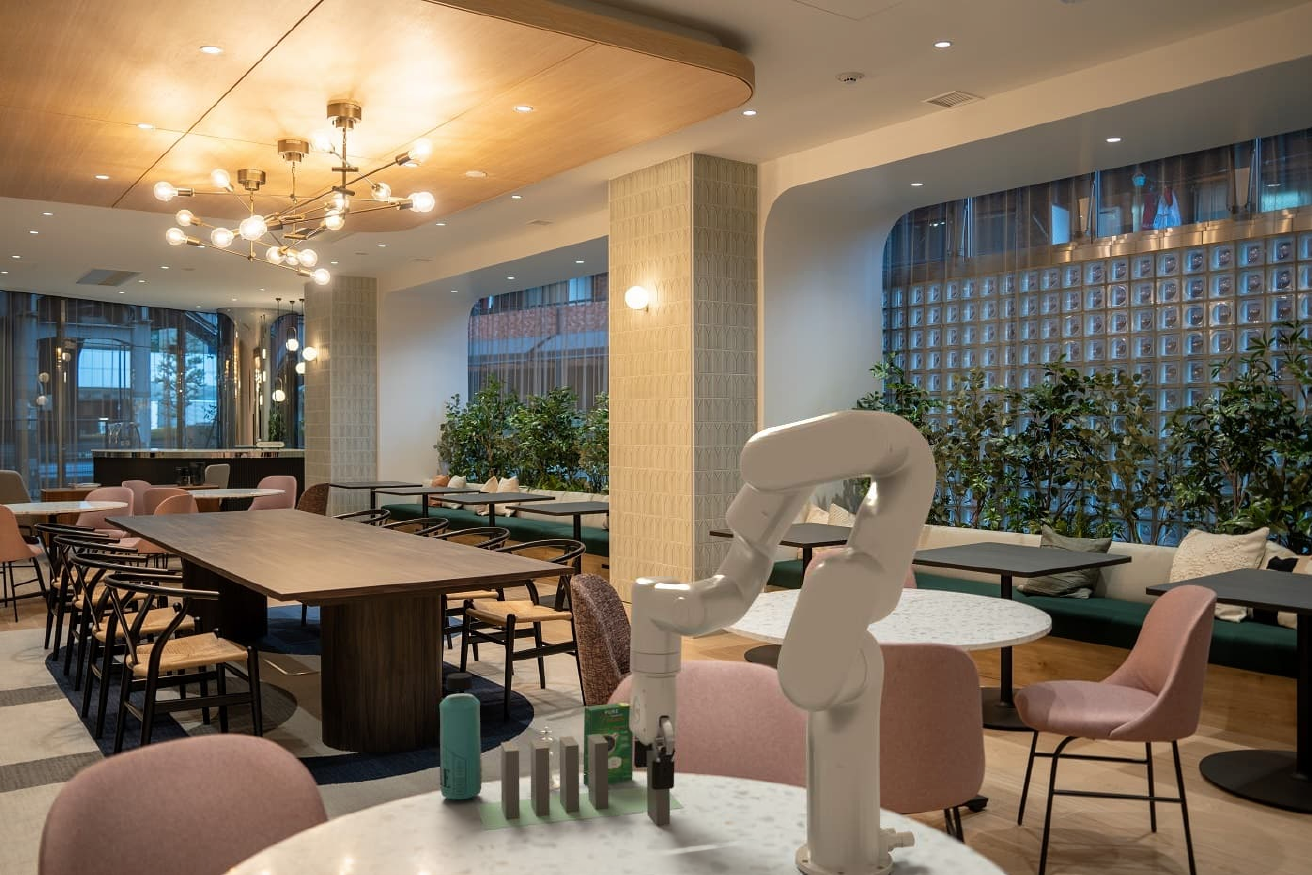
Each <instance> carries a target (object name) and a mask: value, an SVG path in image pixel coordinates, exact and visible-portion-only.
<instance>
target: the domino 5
mask: <svg viewBox="0 0 1312 875" xmlns="http://www.w3.org/2000/svg"><path fill="white" fill-rule="evenodd" d="M660 750H661V749H659V752H660ZM652 761H655V760H654V754H653V751H647V767H646V787H647V812H646V814H647V816H648V817H649V818H650V820H651V821H652V822H653V824H654V825H655V826H656V827H661V826H669V825H671V809H670V793H671V792H670V790H671V789H660V790H654V789H653V788H652Z"/></svg>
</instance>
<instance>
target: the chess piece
mask: <svg viewBox="0 0 1312 875" xmlns="http://www.w3.org/2000/svg"><path fill="white" fill-rule="evenodd" d="M540 732H541V734H540V735H544V737H543V738H542V739H544V741H545V742H546V744H547V745H548V747H549V790H550V791H555V790H558V789H559V790H560V780H559V781H558V780H555V778H554V777H553V773H552V766H551V759H550V758H551V757H554V753H553V751H551V748H552V745H553V743H554V740H553V738H550V737H549V736H551V735H553V731H552V730H550V731H549V727H547V726H545V727H544V730H541V731H540Z"/></svg>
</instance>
